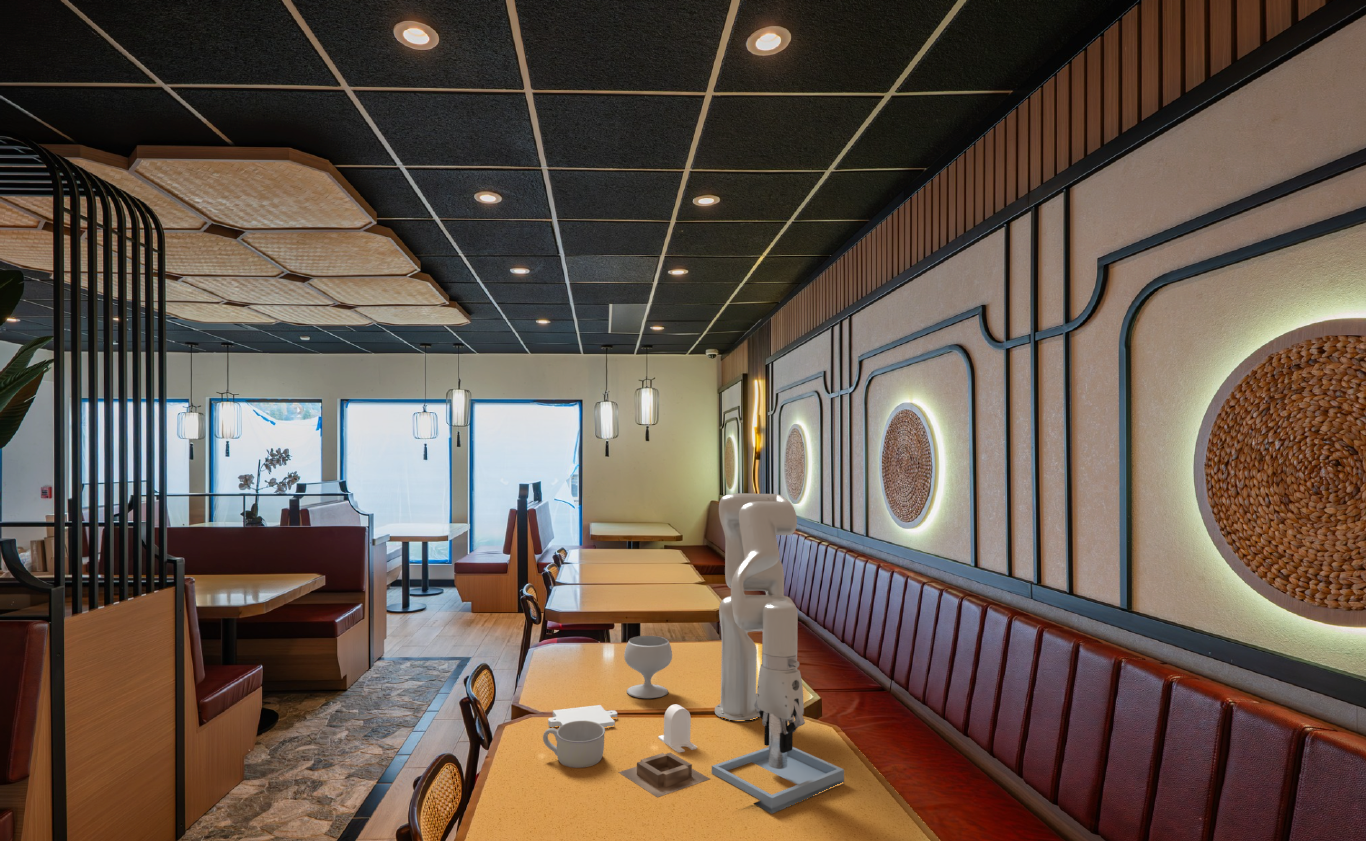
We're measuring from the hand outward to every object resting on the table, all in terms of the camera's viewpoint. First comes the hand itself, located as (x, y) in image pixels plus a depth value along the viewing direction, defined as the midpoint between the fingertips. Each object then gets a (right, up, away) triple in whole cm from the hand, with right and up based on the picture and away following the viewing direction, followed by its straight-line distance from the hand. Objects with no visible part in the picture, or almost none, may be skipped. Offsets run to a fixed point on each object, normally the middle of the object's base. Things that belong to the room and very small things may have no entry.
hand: (778, 746), depth 156 cm
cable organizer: (-22, -8, +16) cm, 28 cm away
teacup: (-45, -7, +6) cm, 46 cm away
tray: (0, -7, 0) cm, 7 cm away
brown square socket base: (-25, -7, -2) cm, 26 cm away
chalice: (-31, -9, +56) cm, 64 cm away
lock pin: (0, -4, 0) cm, 4 cm away
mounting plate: (-46, -8, +32) cm, 57 cm away
